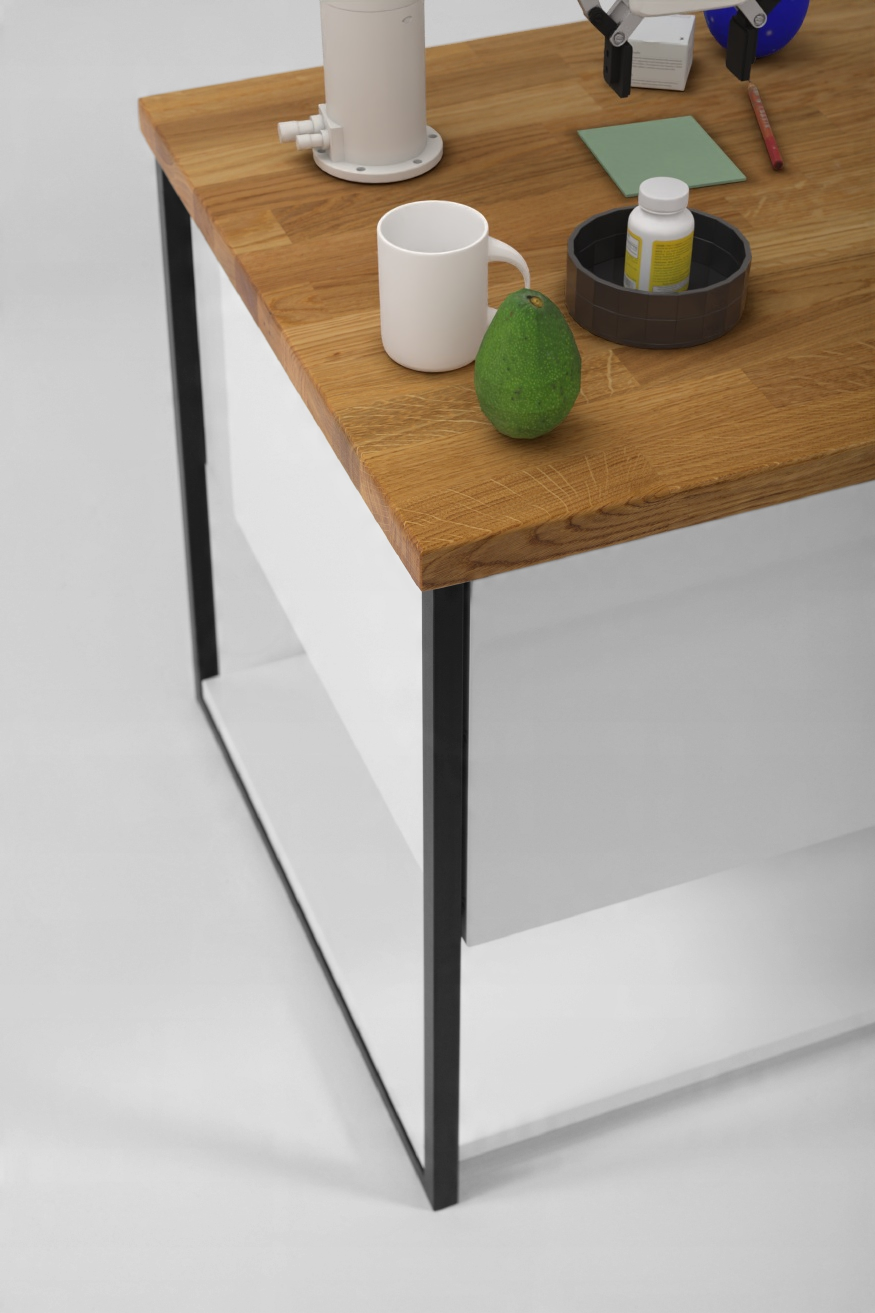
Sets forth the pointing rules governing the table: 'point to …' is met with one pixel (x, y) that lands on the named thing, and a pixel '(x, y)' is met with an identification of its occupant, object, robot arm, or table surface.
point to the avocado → (527, 367)
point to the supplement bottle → (659, 237)
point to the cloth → (660, 154)
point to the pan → (656, 314)
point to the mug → (437, 283)
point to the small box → (662, 51)
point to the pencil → (765, 126)
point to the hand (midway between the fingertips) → (678, 82)
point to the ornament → (771, 35)
